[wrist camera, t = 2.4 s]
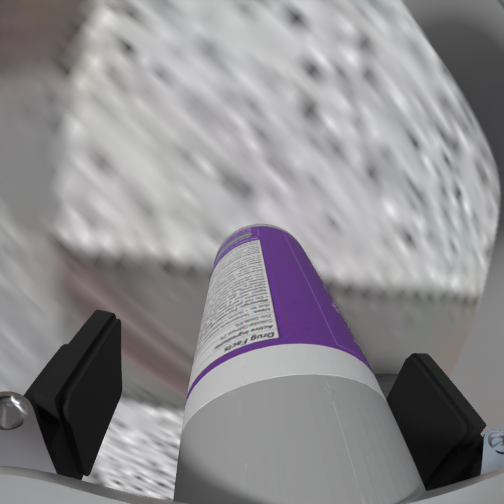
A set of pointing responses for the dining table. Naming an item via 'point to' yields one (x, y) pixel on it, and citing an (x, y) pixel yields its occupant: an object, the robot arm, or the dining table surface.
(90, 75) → the dining table surface
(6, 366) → the dining table surface
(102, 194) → the dining table surface
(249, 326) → the container
